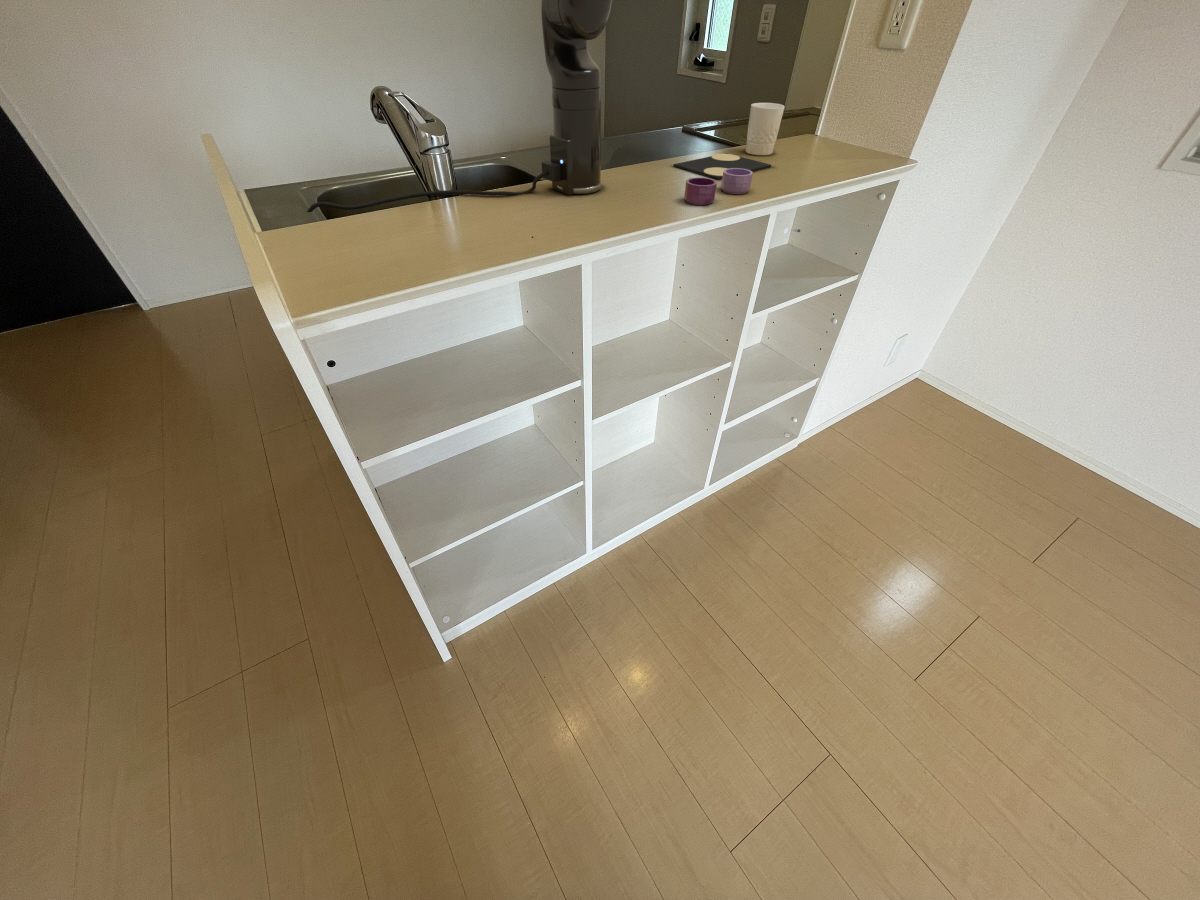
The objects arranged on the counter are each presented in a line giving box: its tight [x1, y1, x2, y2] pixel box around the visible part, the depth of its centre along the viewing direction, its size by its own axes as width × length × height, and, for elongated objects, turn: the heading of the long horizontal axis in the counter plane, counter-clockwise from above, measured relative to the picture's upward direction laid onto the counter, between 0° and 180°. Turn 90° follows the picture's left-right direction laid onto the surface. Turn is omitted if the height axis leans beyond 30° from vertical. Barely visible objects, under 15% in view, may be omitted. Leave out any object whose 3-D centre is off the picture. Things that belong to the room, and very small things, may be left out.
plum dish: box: [683, 177, 718, 206], centre depth 97 cm, size 6×6×4 cm
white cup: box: [745, 102, 785, 156], centre depth 125 cm, size 8×8×10 cm
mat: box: [673, 152, 772, 181], centre depth 118 cm, size 18×15×1 cm
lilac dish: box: [720, 168, 754, 195], centre depth 103 cm, size 6×6×4 cm
